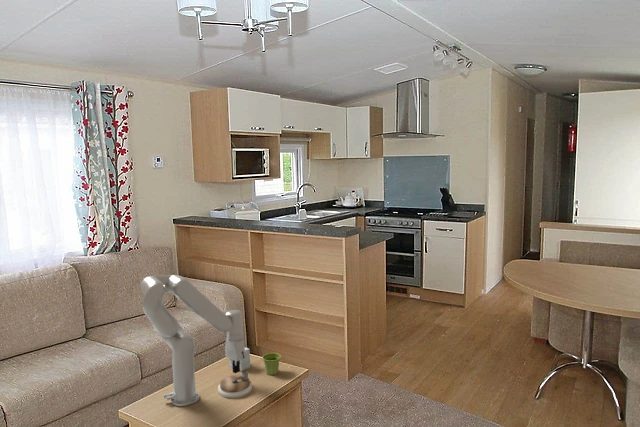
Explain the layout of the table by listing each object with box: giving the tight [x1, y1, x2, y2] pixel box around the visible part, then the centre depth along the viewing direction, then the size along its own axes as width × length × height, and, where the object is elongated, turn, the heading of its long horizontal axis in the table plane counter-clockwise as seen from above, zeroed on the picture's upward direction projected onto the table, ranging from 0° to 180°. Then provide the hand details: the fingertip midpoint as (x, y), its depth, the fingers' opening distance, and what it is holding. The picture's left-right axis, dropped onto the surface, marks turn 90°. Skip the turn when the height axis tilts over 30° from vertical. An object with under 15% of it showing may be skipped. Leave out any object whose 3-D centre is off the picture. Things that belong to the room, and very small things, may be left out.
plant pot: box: [261, 352, 282, 376], centre depth 239 cm, size 9×9×9 cm
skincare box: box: [228, 346, 251, 372], centre depth 247 cm, size 10×6×10 cm, turn 49°
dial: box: [219, 370, 251, 392], centre depth 222 cm, size 14×14×5 cm
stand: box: [217, 380, 253, 399], centre depth 223 cm, size 16×16×2 cm
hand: (236, 371), depth 228 cm, fingers closed
